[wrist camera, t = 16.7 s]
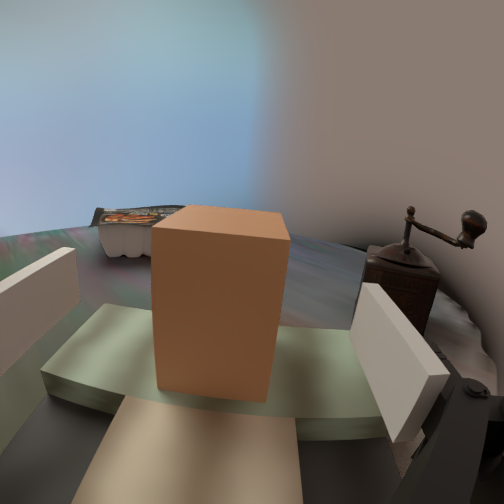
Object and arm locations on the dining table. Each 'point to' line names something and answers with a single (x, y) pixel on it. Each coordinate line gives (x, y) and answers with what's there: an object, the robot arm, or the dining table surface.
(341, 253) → the dining table surface
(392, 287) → the brown manual coffee grinder
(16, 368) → the dining table surface
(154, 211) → the food packaging
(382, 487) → the board
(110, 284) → the dining table surface
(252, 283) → the terracotta block
